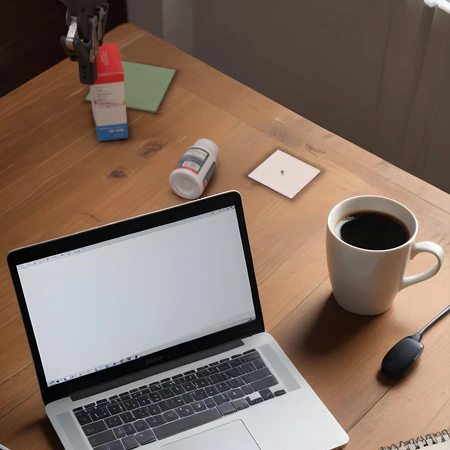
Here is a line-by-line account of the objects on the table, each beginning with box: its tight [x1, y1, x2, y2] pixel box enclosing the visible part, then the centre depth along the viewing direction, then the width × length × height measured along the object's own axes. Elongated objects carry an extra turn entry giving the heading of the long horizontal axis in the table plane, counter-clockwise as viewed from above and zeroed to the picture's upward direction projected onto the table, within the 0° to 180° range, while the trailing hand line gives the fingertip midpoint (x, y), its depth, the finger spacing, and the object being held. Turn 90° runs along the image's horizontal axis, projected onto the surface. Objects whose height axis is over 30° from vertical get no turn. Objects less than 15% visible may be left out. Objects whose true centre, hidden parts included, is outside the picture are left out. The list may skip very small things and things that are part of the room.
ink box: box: [89, 43, 129, 142], centre depth 127 cm, size 8×5×15 cm, turn 12°
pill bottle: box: [168, 138, 220, 200], centre depth 123 cm, size 5×5×9 cm
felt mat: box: [84, 60, 177, 114], centre depth 139 cm, size 12×12×1 cm
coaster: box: [247, 149, 322, 199], centre depth 126 cm, size 8×8×1 cm
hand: (88, 82), depth 119 cm, fingers closed
